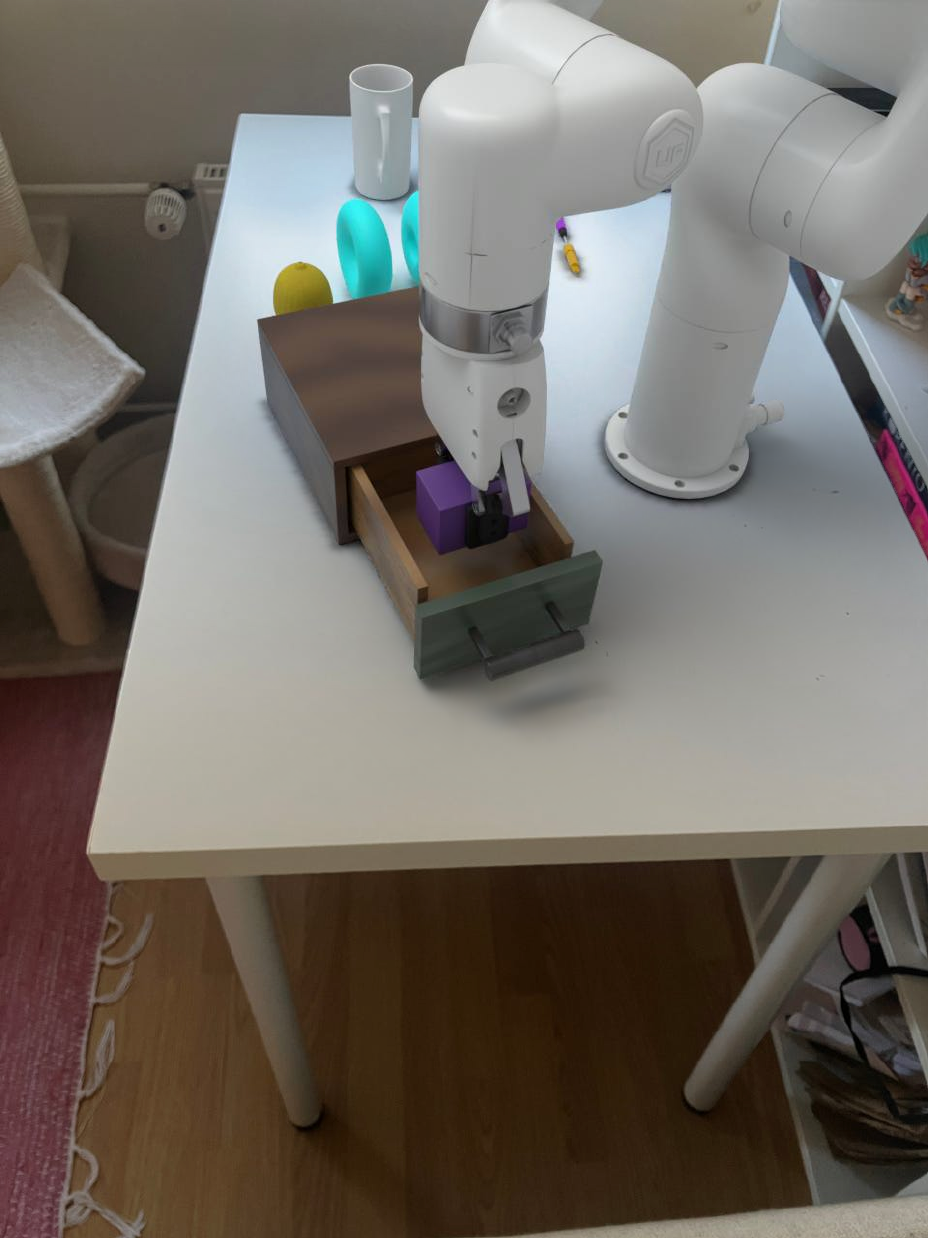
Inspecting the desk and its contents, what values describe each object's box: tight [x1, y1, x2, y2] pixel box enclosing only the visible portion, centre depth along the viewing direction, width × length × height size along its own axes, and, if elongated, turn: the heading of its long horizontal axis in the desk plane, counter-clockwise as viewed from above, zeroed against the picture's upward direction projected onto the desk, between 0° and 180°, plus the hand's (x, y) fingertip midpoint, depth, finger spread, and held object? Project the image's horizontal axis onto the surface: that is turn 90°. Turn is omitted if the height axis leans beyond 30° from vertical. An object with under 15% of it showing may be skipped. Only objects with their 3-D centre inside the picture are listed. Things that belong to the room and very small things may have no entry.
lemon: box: [272, 261, 334, 315], centre depth 93 cm, size 6×6×8 cm
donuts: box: [335, 190, 419, 299], centre depth 98 cm, size 10×10×10 cm
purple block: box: [416, 460, 532, 556], centre depth 72 cm, size 7×4×5 cm, turn 114°
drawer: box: [345, 444, 604, 682], centre depth 74 cm, size 22×14×7 cm, turn 24°
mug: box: [348, 63, 414, 201], centre depth 110 cm, size 10×7×12 cm, turn 7°
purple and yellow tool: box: [555, 217, 581, 274], centre depth 110 cm, size 3×1×16 cm
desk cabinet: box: [256, 285, 437, 545], centre depth 84 cm, size 19×15×9 cm
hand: (471, 516), depth 73 cm, fingers closed on purple block, 4 cm apart
